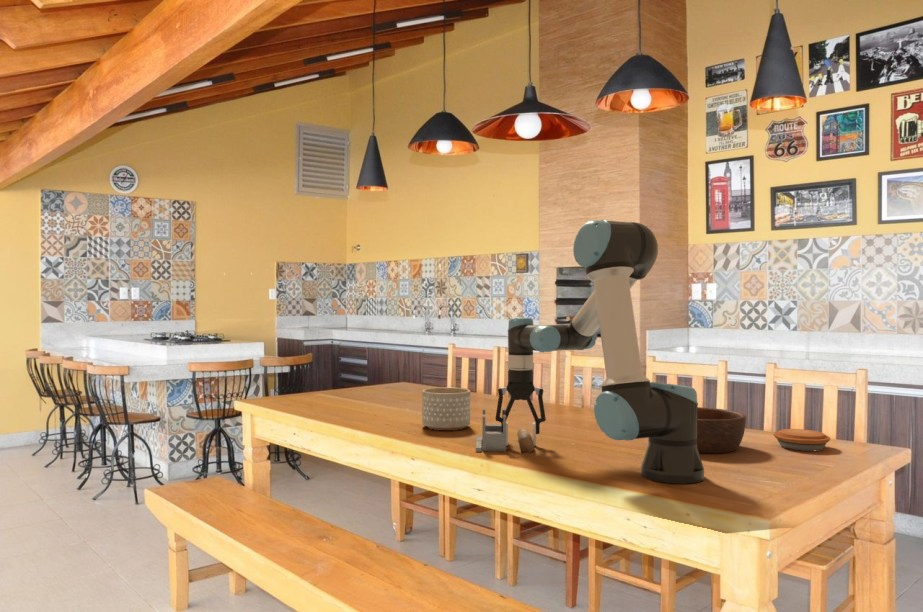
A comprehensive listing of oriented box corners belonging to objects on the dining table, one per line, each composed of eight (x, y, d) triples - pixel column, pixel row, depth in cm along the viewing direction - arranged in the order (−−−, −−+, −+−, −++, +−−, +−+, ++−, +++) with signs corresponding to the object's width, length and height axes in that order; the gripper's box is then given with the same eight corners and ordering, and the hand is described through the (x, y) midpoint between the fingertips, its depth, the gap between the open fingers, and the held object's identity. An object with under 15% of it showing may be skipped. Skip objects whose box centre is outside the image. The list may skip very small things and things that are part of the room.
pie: (800, 441, 226) (800, 425, 226) (842, 451, 211) (842, 433, 211) (761, 444, 220) (761, 428, 220) (802, 454, 206) (802, 437, 206)
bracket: (506, 452, 207) (506, 417, 207) (475, 451, 208) (475, 417, 208) (504, 439, 226) (504, 407, 226) (476, 439, 227) (476, 407, 227)
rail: (527, 456, 207) (536, 446, 207) (517, 446, 207) (527, 436, 207) (523, 443, 226) (532, 434, 226) (514, 434, 226) (523, 425, 226)
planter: (416, 430, 242) (416, 392, 241) (429, 422, 257) (430, 386, 257) (463, 432, 238) (464, 394, 237) (474, 424, 254) (474, 388, 253)
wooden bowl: (688, 458, 201) (688, 421, 200) (642, 441, 225) (642, 408, 224) (764, 453, 207) (764, 417, 207) (712, 437, 231) (712, 405, 231)
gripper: (553, 367, 220) (553, 442, 220) (486, 367, 221) (486, 442, 221) (556, 370, 212) (555, 447, 213) (486, 369, 213) (486, 447, 213)
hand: (520, 444), depth 217 cm, fingers open, 8 cm apart
